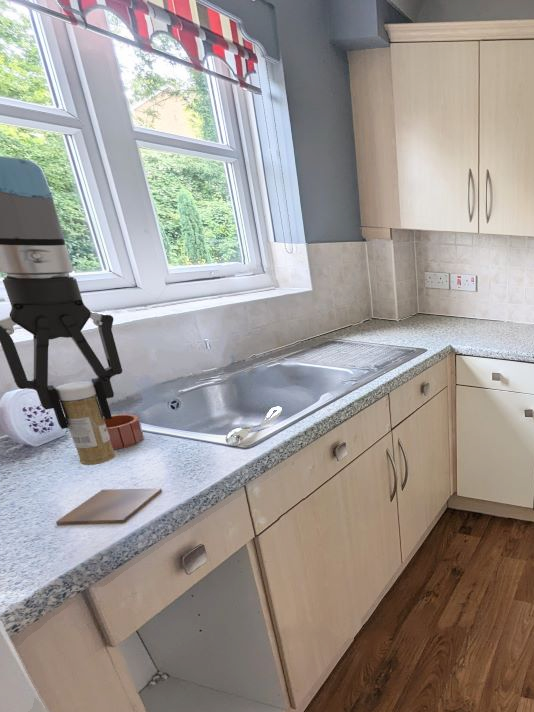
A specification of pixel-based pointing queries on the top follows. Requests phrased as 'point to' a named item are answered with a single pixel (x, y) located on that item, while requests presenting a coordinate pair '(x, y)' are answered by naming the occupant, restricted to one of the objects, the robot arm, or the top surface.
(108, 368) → the robot arm
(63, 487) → the top surface
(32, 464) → the top surface
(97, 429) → the sprinkles bottle
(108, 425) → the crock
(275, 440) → the top surface
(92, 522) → the cork board
